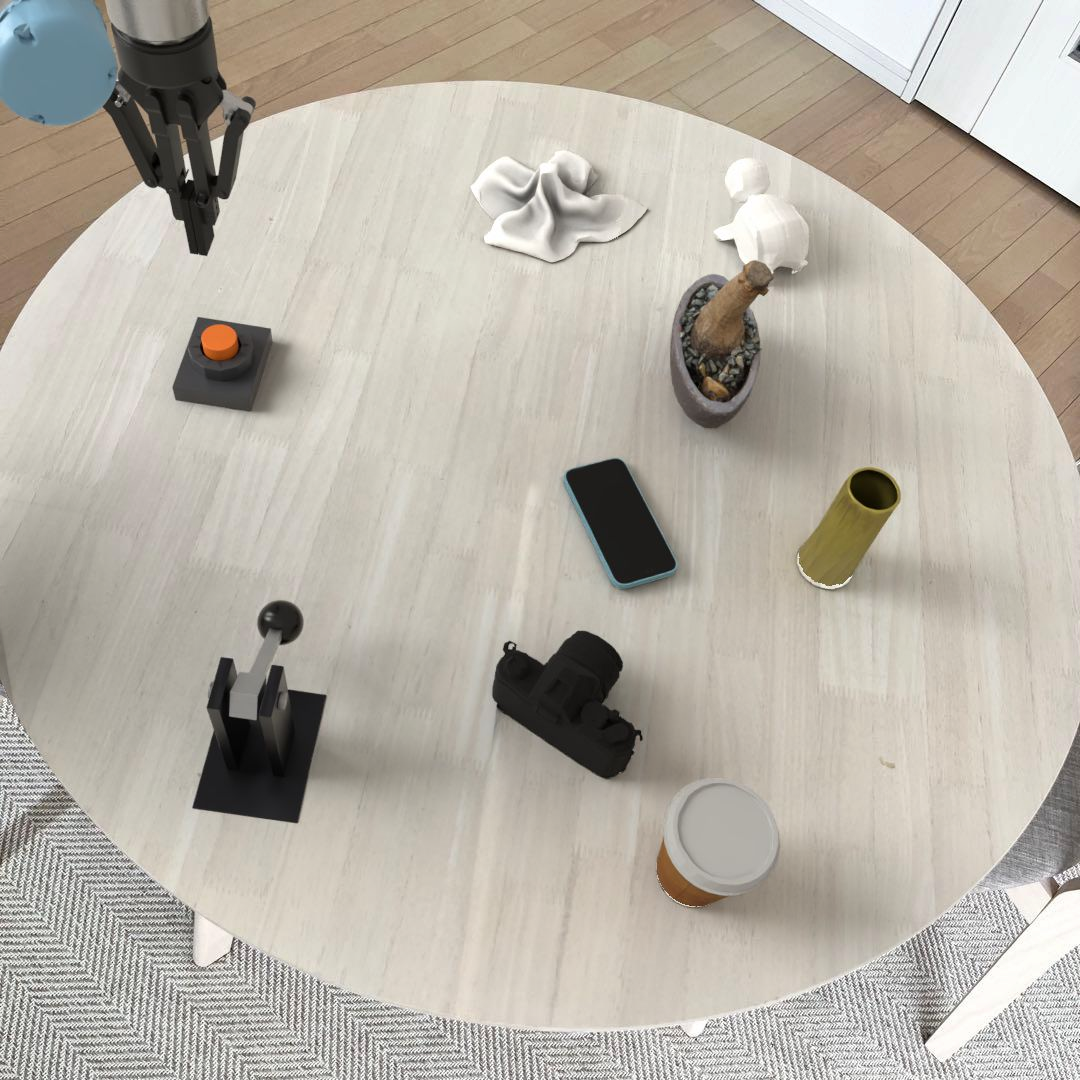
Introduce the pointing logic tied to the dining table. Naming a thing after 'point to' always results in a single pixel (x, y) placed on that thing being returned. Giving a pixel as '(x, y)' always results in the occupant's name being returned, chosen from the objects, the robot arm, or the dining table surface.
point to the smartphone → (620, 523)
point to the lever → (265, 656)
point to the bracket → (259, 750)
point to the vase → (849, 526)
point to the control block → (223, 368)
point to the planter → (717, 345)
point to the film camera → (569, 701)
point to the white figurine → (763, 220)
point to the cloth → (546, 206)
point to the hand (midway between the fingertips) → (202, 244)
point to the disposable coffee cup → (716, 842)
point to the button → (220, 342)
